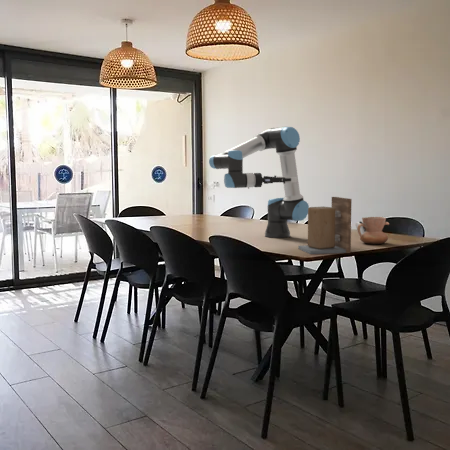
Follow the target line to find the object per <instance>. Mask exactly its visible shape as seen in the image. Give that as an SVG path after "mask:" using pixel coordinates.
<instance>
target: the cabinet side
mask: <svg viewBox="0 0 450 450" xmlns="http://www.w3.org/2000/svg"><path fill="white" fill-rule="evenodd" d="M331 207H333V208H335V246H337V247H340V248H343V249H346V253H345V254H351V252H352V251H351V249H352V247H351V245H352V244H351V243H352V198H347V197H341V196H340V197H339V196H331Z"/></svg>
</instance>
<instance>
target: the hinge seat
mask: <svg viewBox="0 0 450 450" xmlns="http://www.w3.org/2000/svg"><path fill="white" fill-rule="evenodd" d="M297 248H298V250H301V251H303V252H305V253H307V254H309V255H318V254H319V255H320V254H321V255H323V254H344V253H345V254H347V253H346V249H343V248H340V247H337V246H335V247H334V248H328V249H316V248H311V247H308V244H307V245H304V244H303V245H298V247H297Z"/></svg>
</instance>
